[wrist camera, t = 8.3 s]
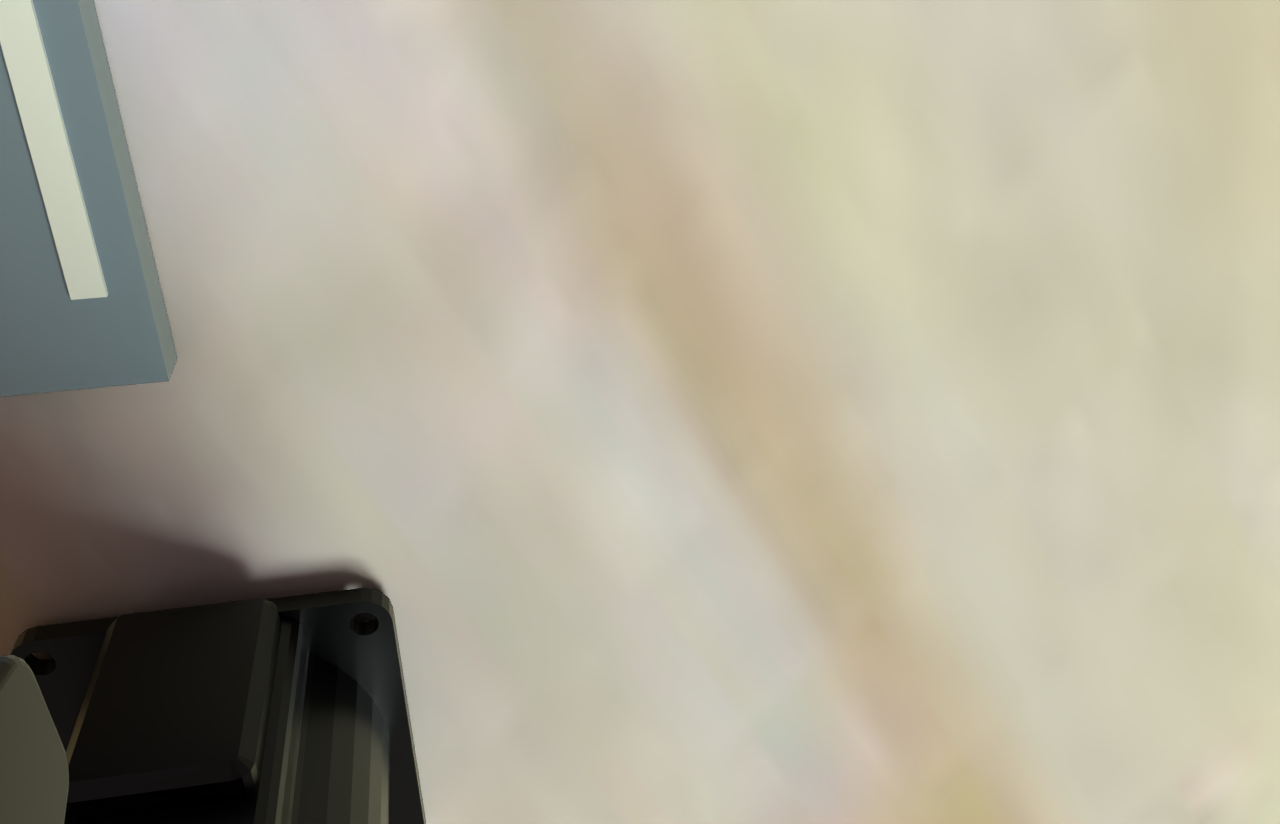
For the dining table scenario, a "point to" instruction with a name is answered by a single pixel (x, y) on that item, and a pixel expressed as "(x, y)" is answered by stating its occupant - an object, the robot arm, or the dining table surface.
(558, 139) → the dining table surface
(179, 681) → the robot arm
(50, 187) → the board
